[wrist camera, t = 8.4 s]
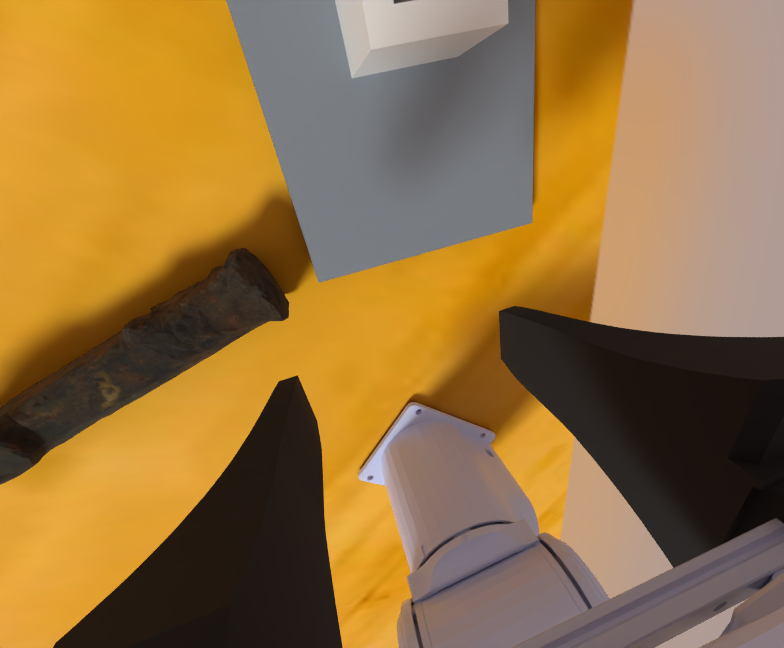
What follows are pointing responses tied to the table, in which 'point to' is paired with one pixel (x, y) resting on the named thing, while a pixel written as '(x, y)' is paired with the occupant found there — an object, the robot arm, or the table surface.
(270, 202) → the table surface
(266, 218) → the table surface
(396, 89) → the plate
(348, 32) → the hollow square block
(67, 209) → the table surface
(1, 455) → the hand tool
